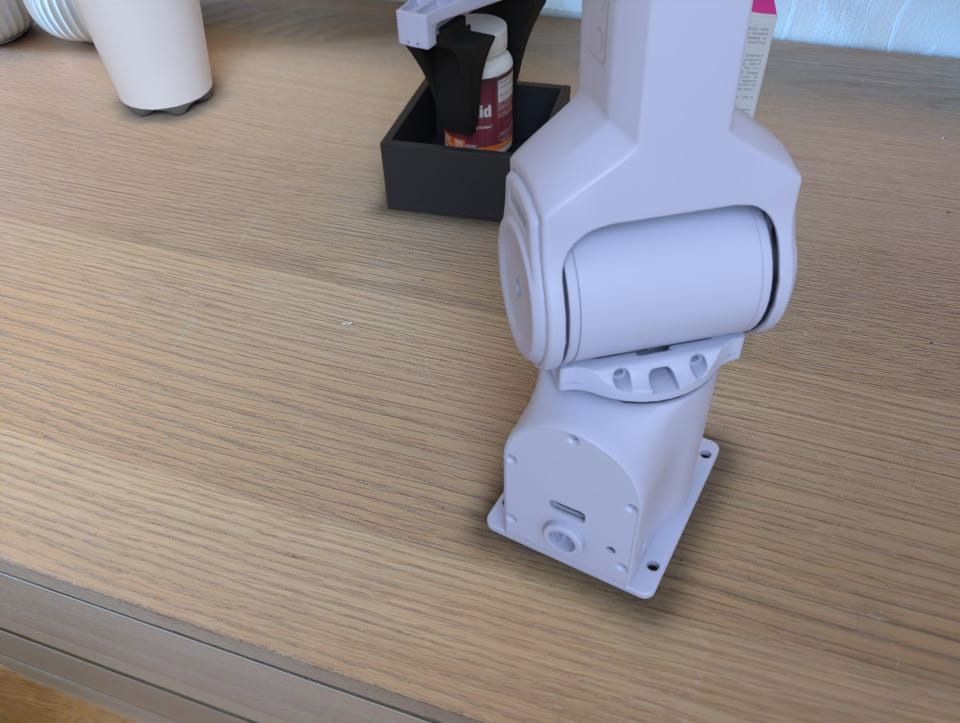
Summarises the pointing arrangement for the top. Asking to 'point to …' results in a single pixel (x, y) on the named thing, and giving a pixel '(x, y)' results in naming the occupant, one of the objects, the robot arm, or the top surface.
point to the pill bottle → (491, 91)
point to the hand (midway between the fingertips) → (479, 113)
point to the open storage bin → (458, 156)
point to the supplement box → (756, 54)
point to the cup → (151, 51)
